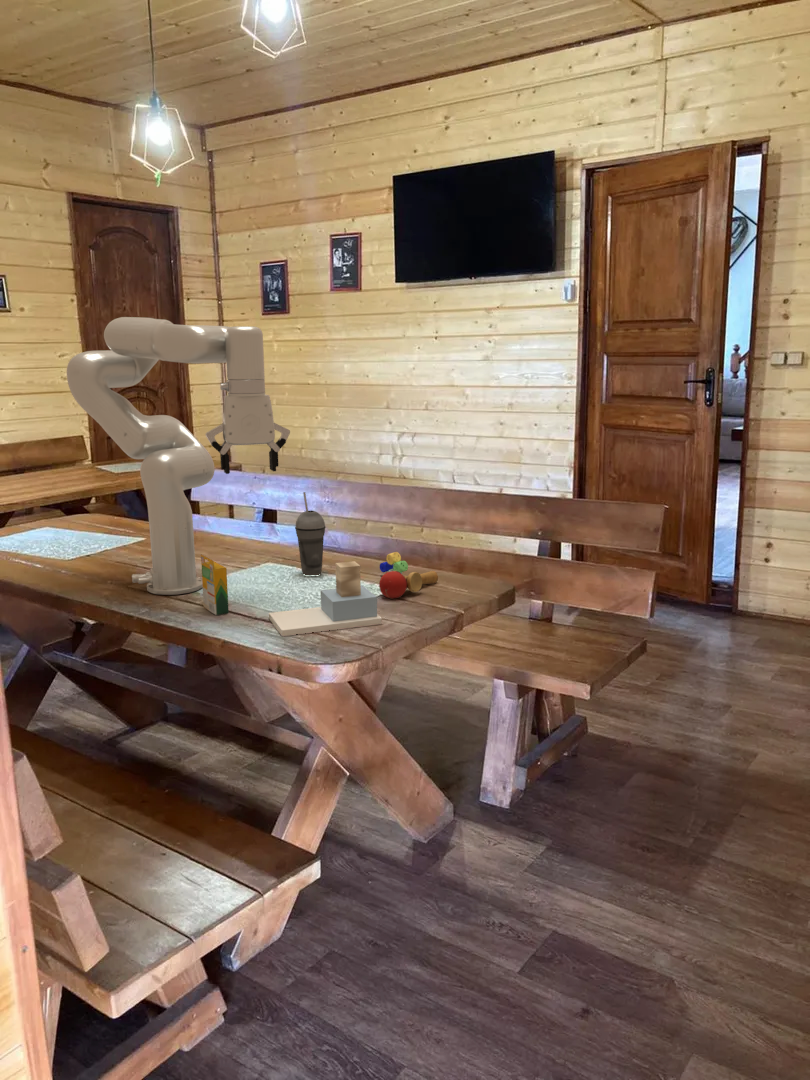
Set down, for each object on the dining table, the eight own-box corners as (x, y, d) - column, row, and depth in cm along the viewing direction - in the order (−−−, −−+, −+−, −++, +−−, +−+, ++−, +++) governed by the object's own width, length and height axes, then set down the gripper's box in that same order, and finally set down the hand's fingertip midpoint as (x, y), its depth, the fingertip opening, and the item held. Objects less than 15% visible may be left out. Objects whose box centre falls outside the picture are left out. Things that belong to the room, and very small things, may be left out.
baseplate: (282, 636, 165) (281, 610, 164) (269, 618, 176) (267, 593, 175) (382, 623, 172) (381, 598, 171) (363, 607, 183) (362, 583, 182)
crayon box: (229, 613, 180) (226, 558, 178) (215, 615, 178) (212, 560, 176) (216, 605, 186) (213, 552, 184) (203, 607, 184) (199, 553, 182)
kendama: (415, 585, 205) (367, 592, 190) (421, 560, 204) (373, 565, 189) (442, 597, 201) (395, 604, 186) (448, 570, 199) (401, 576, 185)
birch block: (341, 597, 172) (340, 567, 171) (336, 591, 176) (335, 562, 175) (360, 595, 173) (360, 565, 172) (355, 589, 177) (354, 561, 176)
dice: (378, 576, 208) (378, 550, 207) (387, 574, 210) (386, 548, 208) (400, 582, 202) (400, 555, 201) (409, 580, 204) (409, 553, 203)
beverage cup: (322, 578, 206) (319, 495, 202) (292, 577, 208) (289, 494, 203) (330, 571, 213) (328, 490, 209) (302, 570, 214) (299, 489, 210)
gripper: (206, 390, 172) (210, 476, 176) (292, 388, 178) (295, 471, 181) (200, 388, 179) (205, 471, 182) (283, 386, 185) (286, 467, 188)
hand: (250, 471), depth 182 cm, fingers open, 9 cm apart
